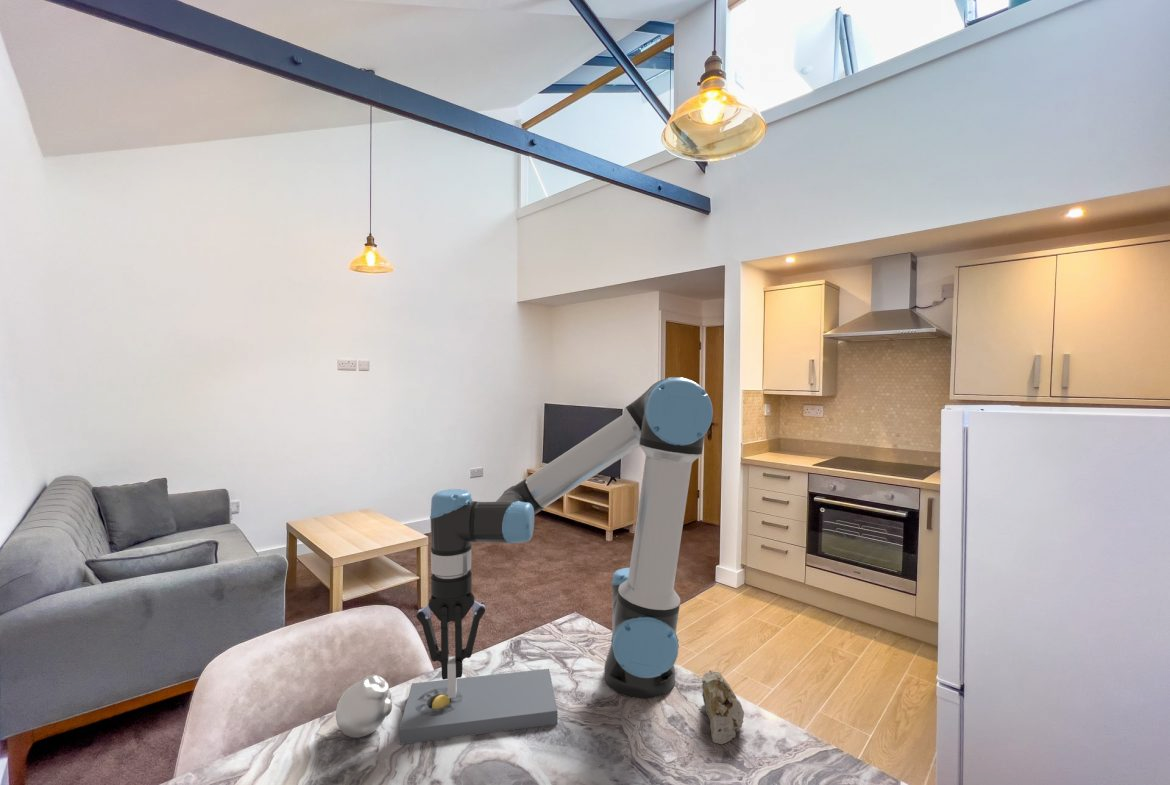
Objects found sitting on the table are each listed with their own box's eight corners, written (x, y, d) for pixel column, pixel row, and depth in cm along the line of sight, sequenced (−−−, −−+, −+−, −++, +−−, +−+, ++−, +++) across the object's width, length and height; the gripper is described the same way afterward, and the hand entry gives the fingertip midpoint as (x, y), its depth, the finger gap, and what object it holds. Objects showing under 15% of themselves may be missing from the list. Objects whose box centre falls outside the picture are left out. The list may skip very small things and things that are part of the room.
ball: (453, 691, 97) (435, 689, 96) (450, 706, 94) (432, 703, 93) (449, 706, 97) (431, 704, 97) (446, 721, 94) (428, 718, 94)
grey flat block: (549, 680, 106) (549, 668, 106) (557, 723, 92) (557, 710, 92) (412, 695, 101) (411, 683, 101) (399, 744, 87) (399, 730, 87)
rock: (752, 744, 85) (740, 678, 88) (713, 747, 86) (703, 682, 89) (740, 721, 97) (730, 664, 100) (706, 724, 97) (697, 667, 100)
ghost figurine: (372, 753, 85) (371, 695, 85) (324, 745, 87) (324, 688, 87) (402, 719, 94) (402, 666, 94) (358, 712, 96) (358, 660, 96)
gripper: (486, 562, 100) (487, 678, 100) (418, 567, 98) (419, 686, 98) (485, 576, 93) (486, 701, 93) (412, 581, 90) (413, 710, 91)
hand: (452, 693), depth 96 cm, fingers closed
